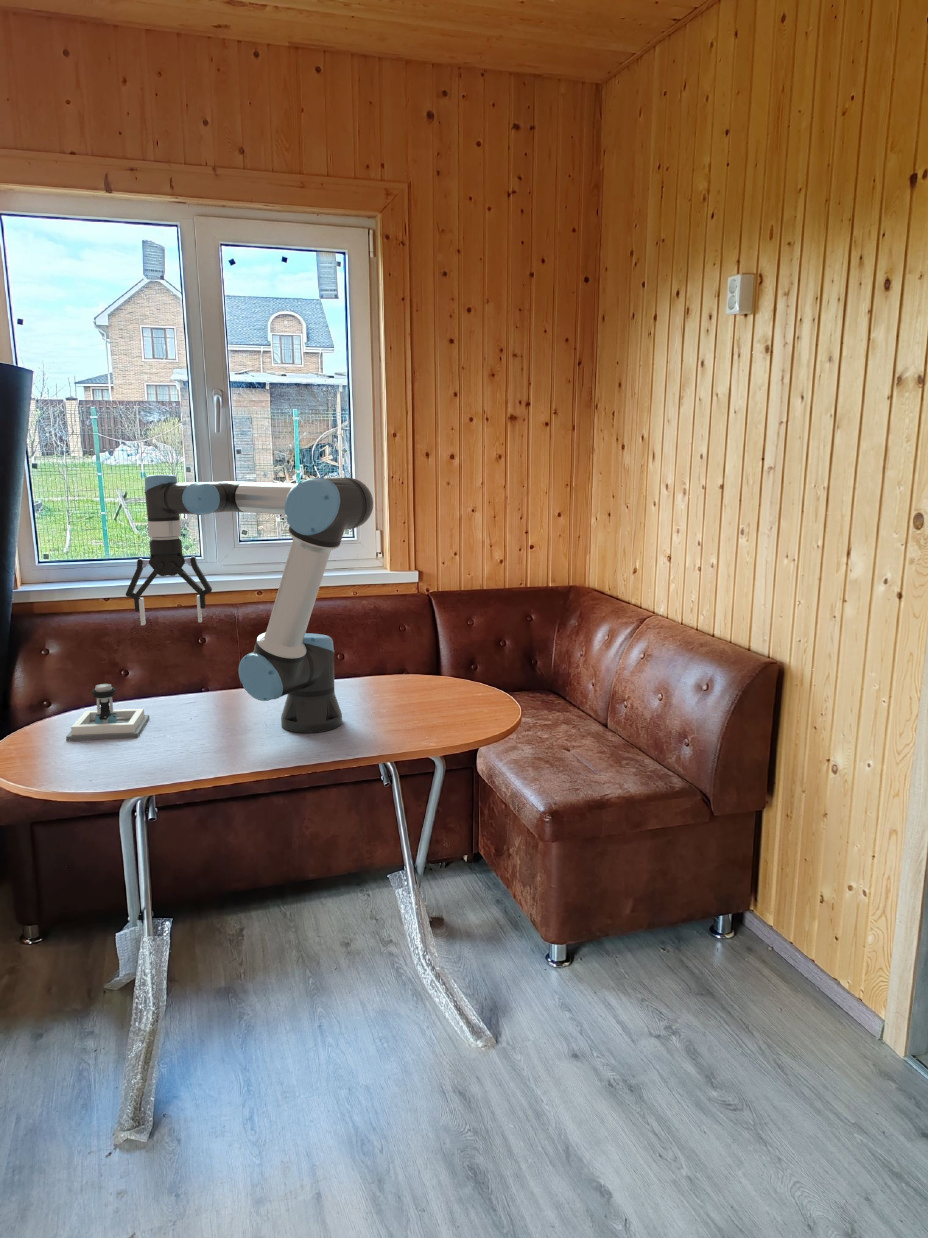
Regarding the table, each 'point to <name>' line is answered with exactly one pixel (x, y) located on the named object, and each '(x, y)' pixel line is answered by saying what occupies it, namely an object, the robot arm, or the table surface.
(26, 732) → the table surface
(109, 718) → the push button
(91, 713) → the socket plate
